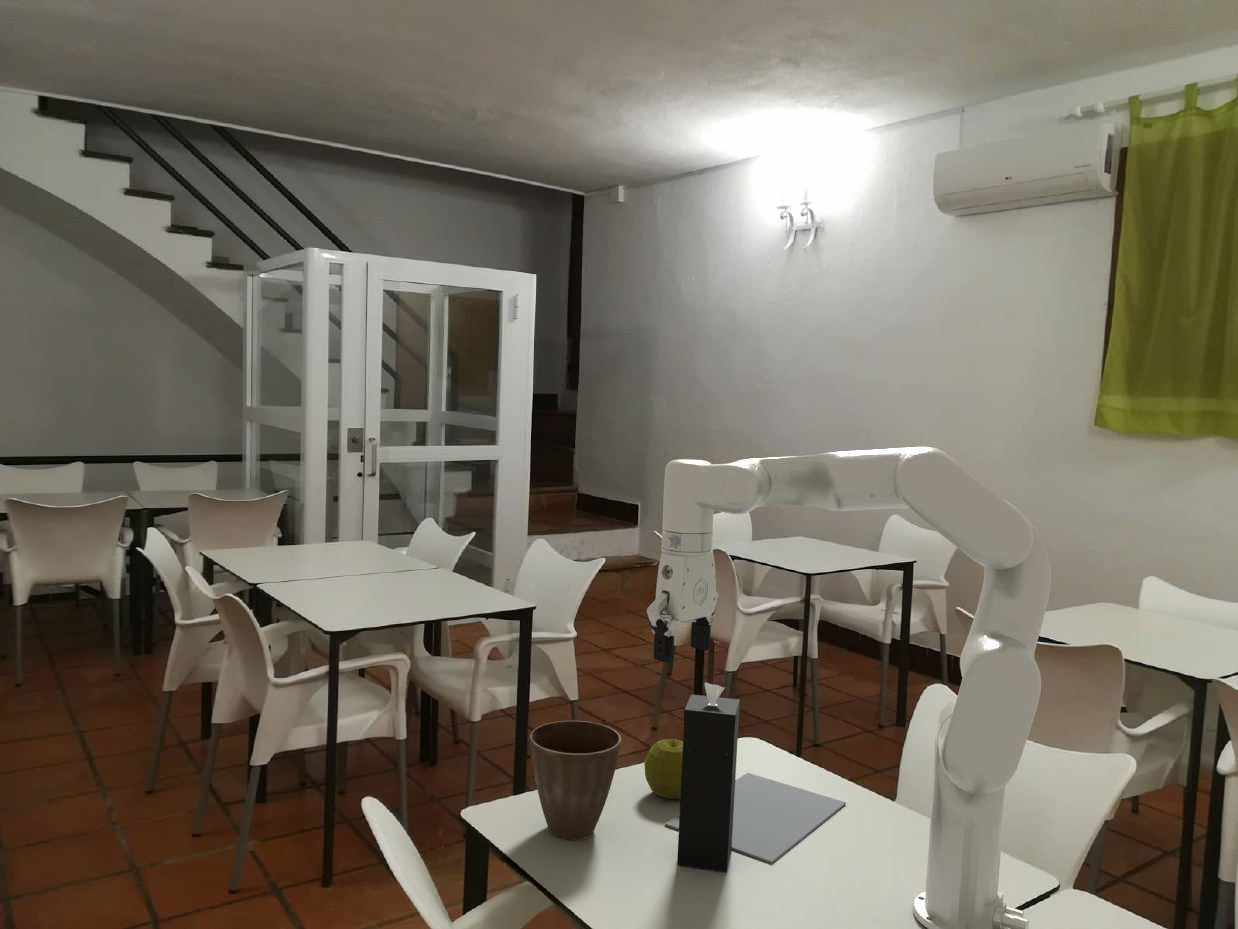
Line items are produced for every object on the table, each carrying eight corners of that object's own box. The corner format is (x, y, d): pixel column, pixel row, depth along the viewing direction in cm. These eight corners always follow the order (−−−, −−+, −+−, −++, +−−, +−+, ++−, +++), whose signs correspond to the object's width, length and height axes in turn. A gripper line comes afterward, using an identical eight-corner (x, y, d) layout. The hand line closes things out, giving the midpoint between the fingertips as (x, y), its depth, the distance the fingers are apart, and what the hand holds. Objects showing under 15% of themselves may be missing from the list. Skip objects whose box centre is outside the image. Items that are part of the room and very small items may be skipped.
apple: (636, 801, 171) (639, 741, 171) (651, 781, 181) (653, 724, 180) (691, 811, 169) (694, 750, 168) (703, 789, 178) (706, 731, 177)
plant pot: (635, 836, 158) (639, 741, 157) (560, 861, 149) (564, 760, 147) (581, 803, 170) (585, 715, 168) (509, 824, 160) (512, 730, 159)
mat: (845, 804, 174) (845, 802, 174) (771, 864, 151) (771, 861, 150) (747, 774, 186) (747, 772, 186) (664, 825, 162) (665, 823, 162)
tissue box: (727, 873, 147) (736, 694, 145) (676, 866, 148) (685, 688, 146) (731, 850, 155) (741, 679, 152) (683, 843, 156) (691, 674, 154)
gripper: (674, 551, 135) (669, 671, 136) (738, 540, 148) (733, 649, 150) (631, 545, 139) (627, 661, 141) (698, 534, 153) (693, 640, 154)
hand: (682, 654), depth 145 cm, fingers open, 9 cm apart
